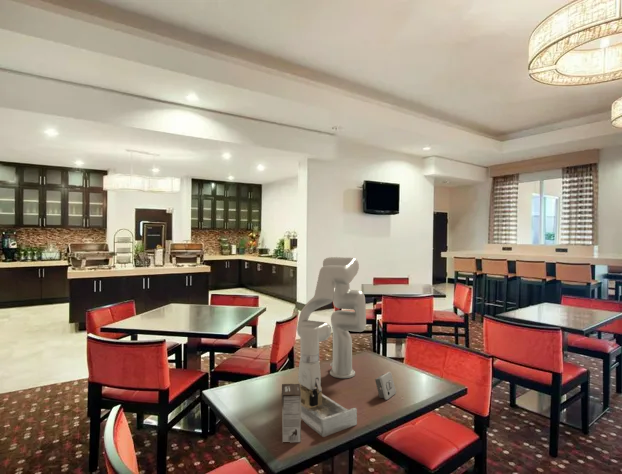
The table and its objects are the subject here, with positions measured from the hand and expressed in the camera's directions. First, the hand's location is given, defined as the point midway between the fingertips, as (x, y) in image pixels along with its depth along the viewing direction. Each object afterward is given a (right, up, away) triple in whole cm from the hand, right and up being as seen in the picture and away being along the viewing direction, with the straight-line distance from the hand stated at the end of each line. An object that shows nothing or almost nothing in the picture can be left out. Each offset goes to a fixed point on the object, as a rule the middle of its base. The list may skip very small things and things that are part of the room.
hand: (310, 402), depth 144 cm
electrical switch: (+33, -3, +12) cm, 35 cm away
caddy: (+4, -3, -7) cm, 8 cm away
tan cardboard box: (0, -1, 0) cm, 1 cm away
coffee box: (-6, -3, -20) cm, 21 cm away
